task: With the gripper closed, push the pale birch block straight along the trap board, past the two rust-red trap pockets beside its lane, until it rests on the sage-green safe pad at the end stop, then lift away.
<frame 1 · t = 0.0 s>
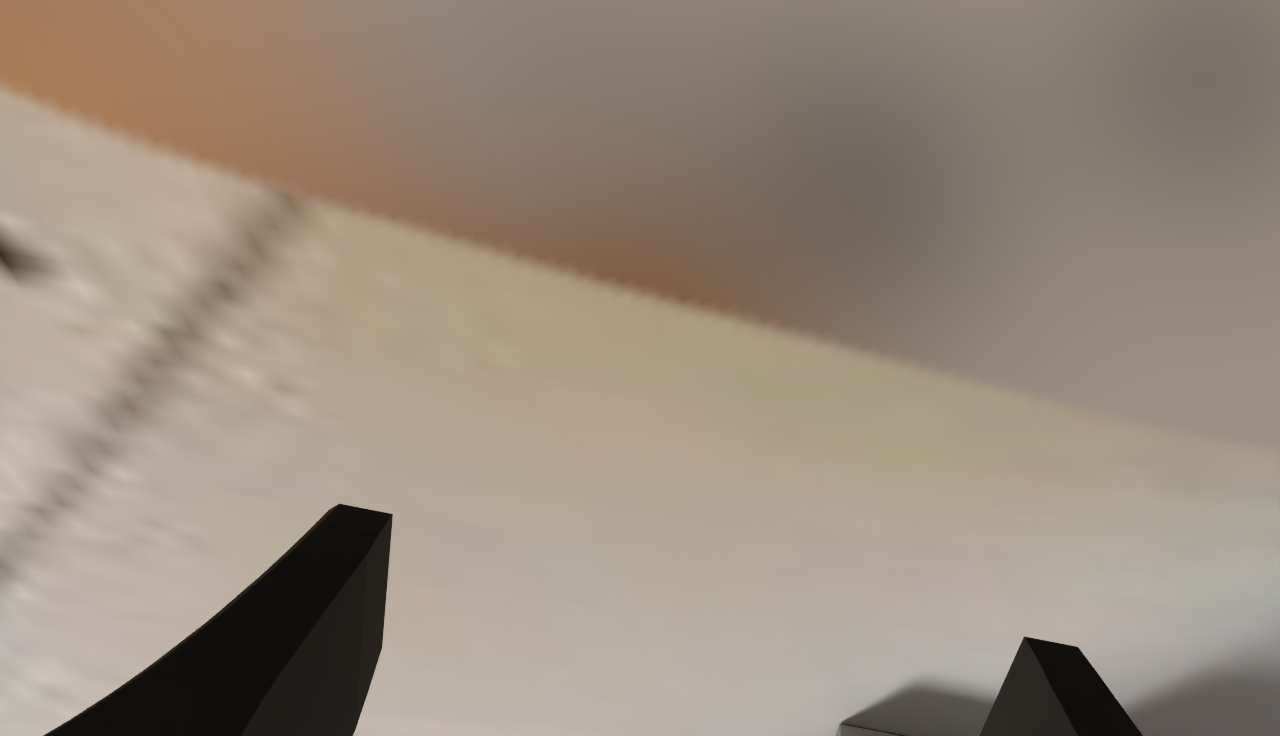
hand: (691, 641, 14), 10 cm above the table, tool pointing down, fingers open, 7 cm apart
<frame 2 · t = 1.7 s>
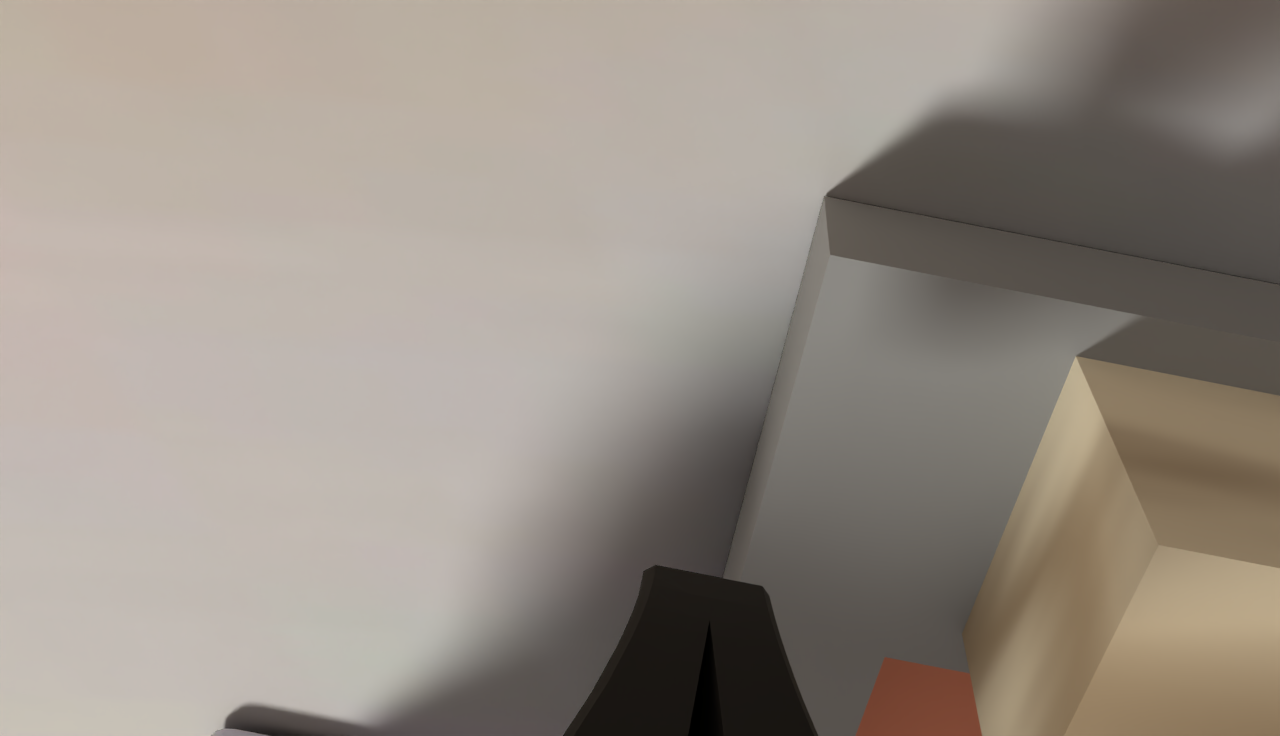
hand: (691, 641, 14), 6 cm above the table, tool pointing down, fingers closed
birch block: (1186, 538, 17), point 2 cm above the table, touching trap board
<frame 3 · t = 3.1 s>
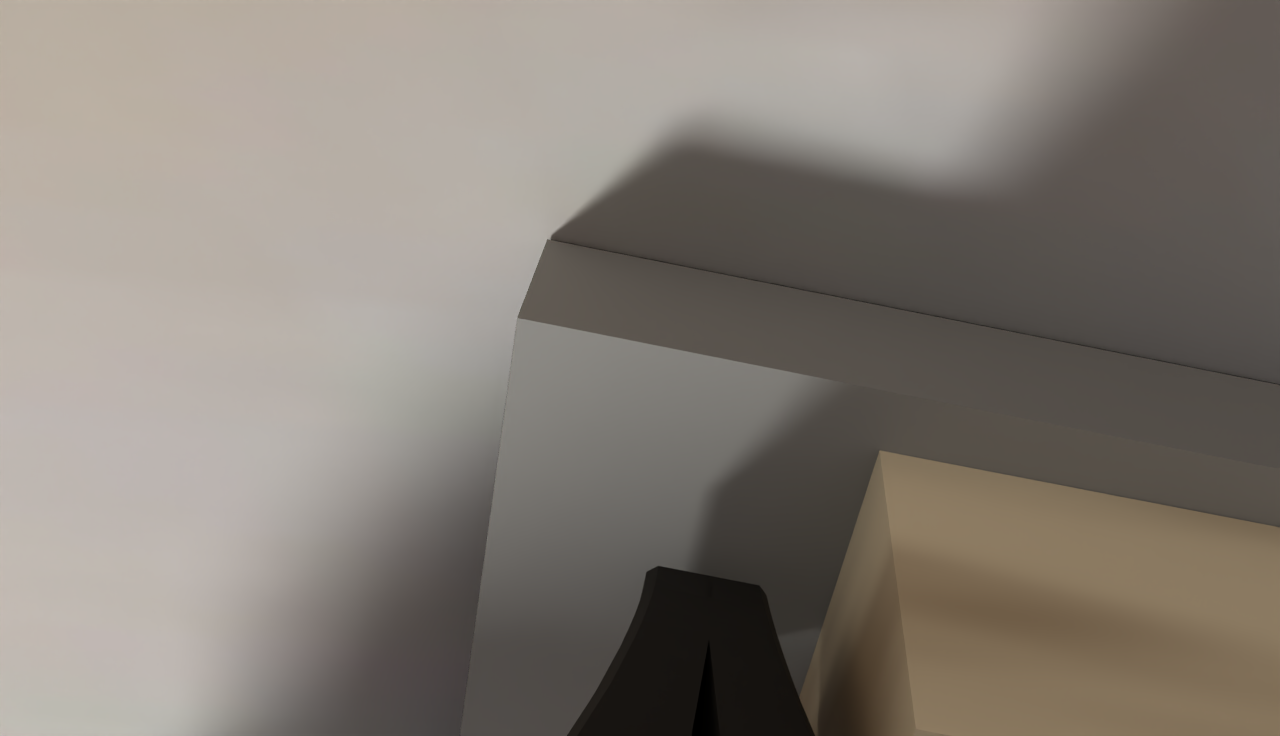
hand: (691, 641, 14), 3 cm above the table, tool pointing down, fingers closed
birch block: (1030, 660, 15), point 2 cm above the table, touching gripper
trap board: (1125, 722, 18), on the table
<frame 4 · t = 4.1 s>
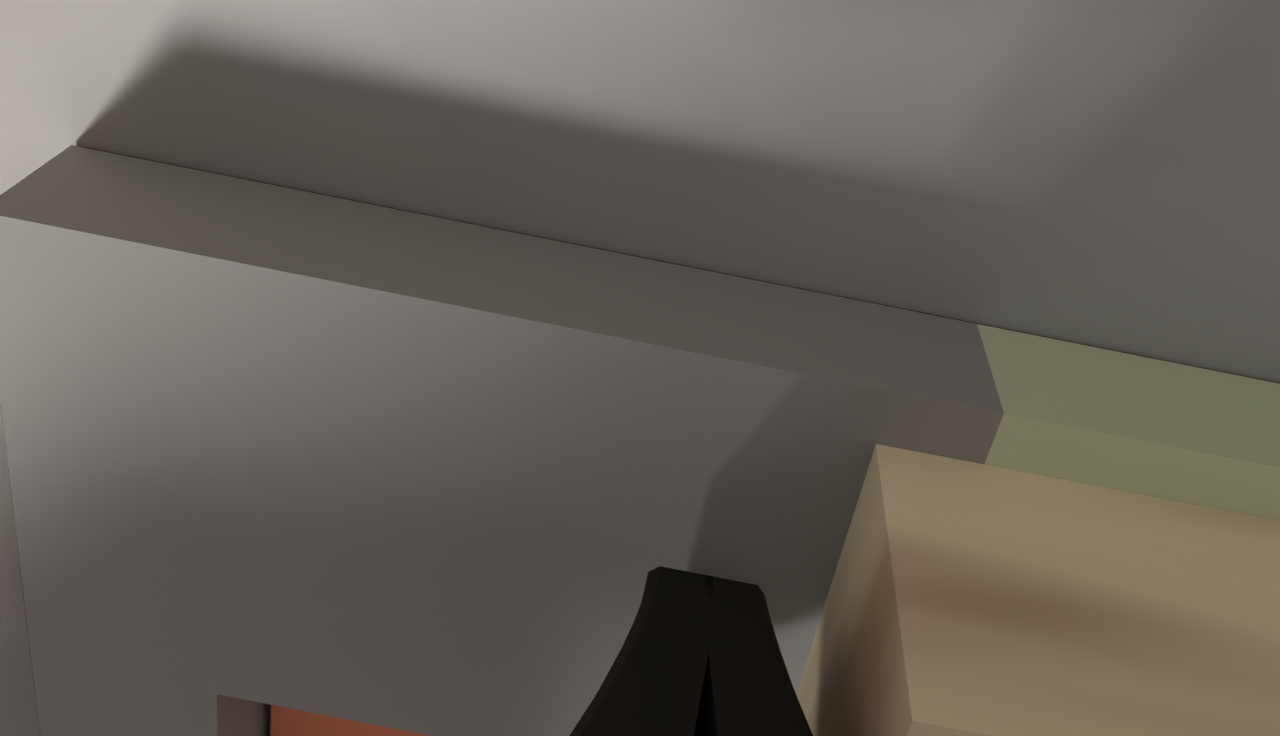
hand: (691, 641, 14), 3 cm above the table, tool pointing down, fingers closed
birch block: (1027, 654, 15), point 2 cm above the table, touching gripper
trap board: (733, 645, 18), on the table
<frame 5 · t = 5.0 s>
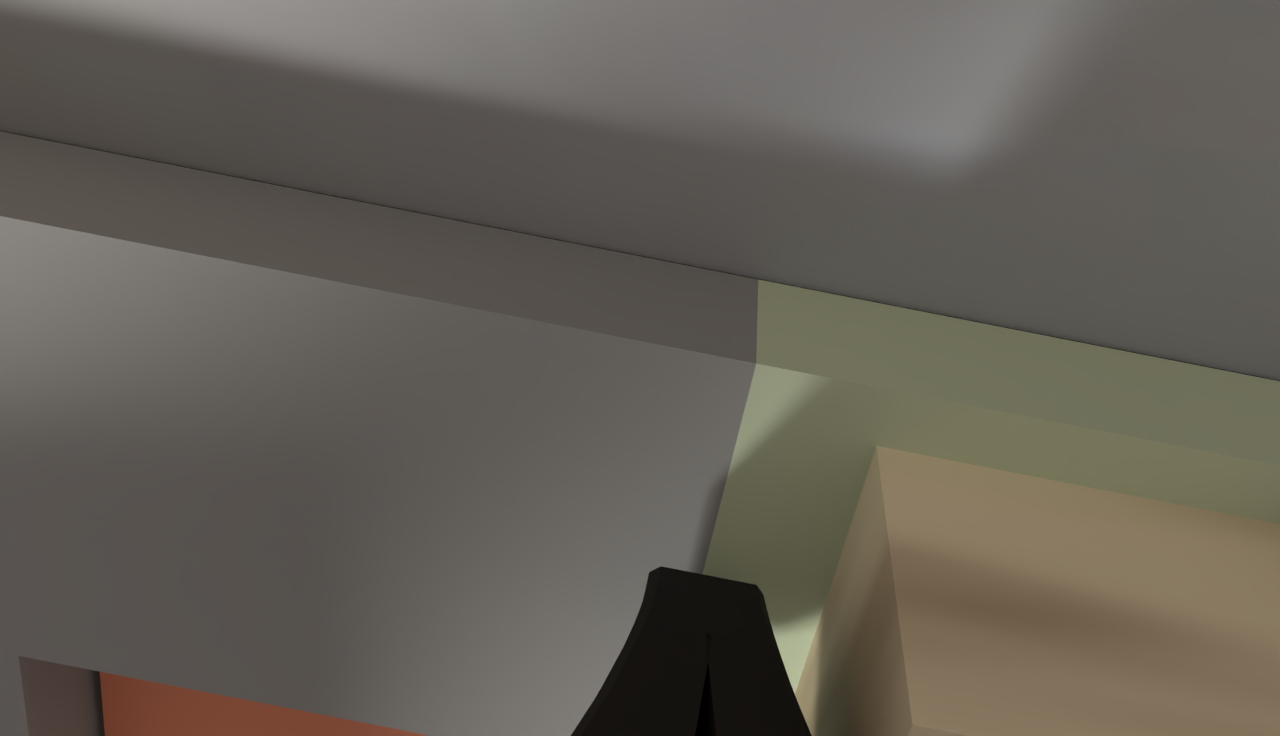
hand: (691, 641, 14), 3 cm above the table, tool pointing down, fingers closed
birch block: (1026, 656, 15), point 2 cm above the table, touching gripper, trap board
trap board: (551, 609, 18), on the table
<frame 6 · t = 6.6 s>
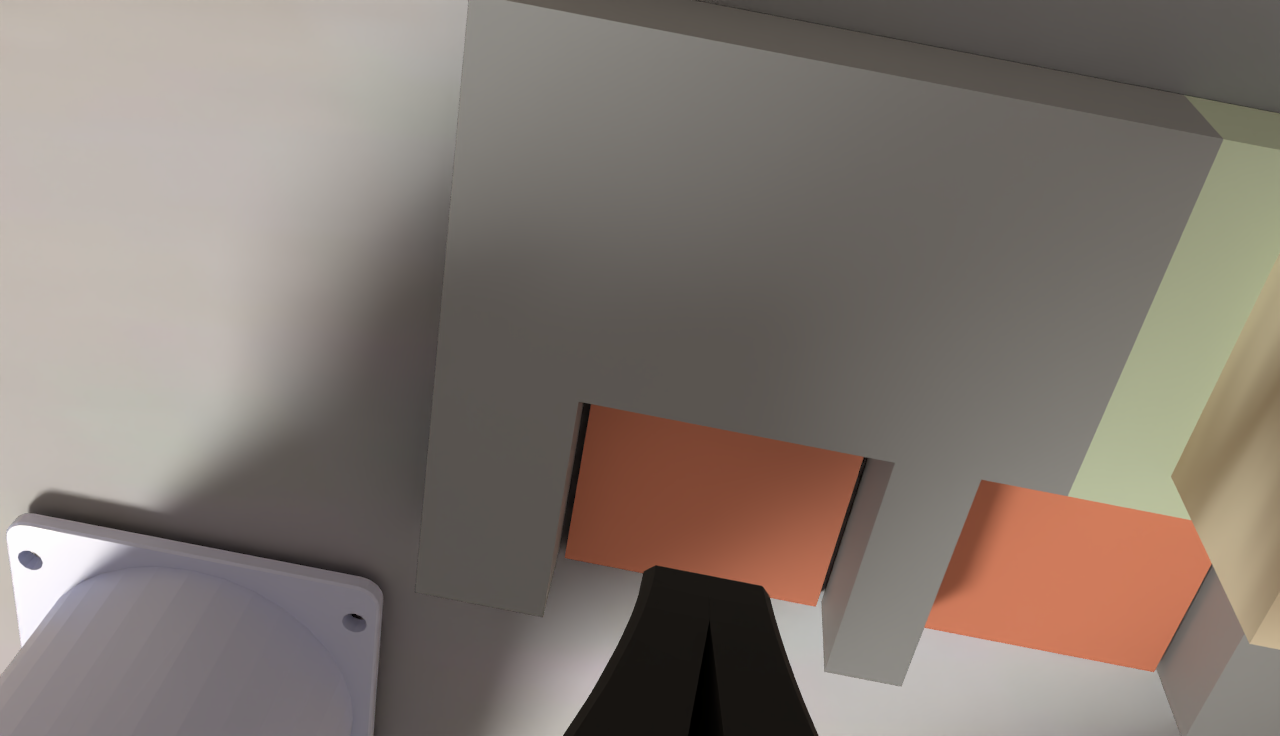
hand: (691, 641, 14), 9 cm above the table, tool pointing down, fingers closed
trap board: (964, 379, 22), on the table
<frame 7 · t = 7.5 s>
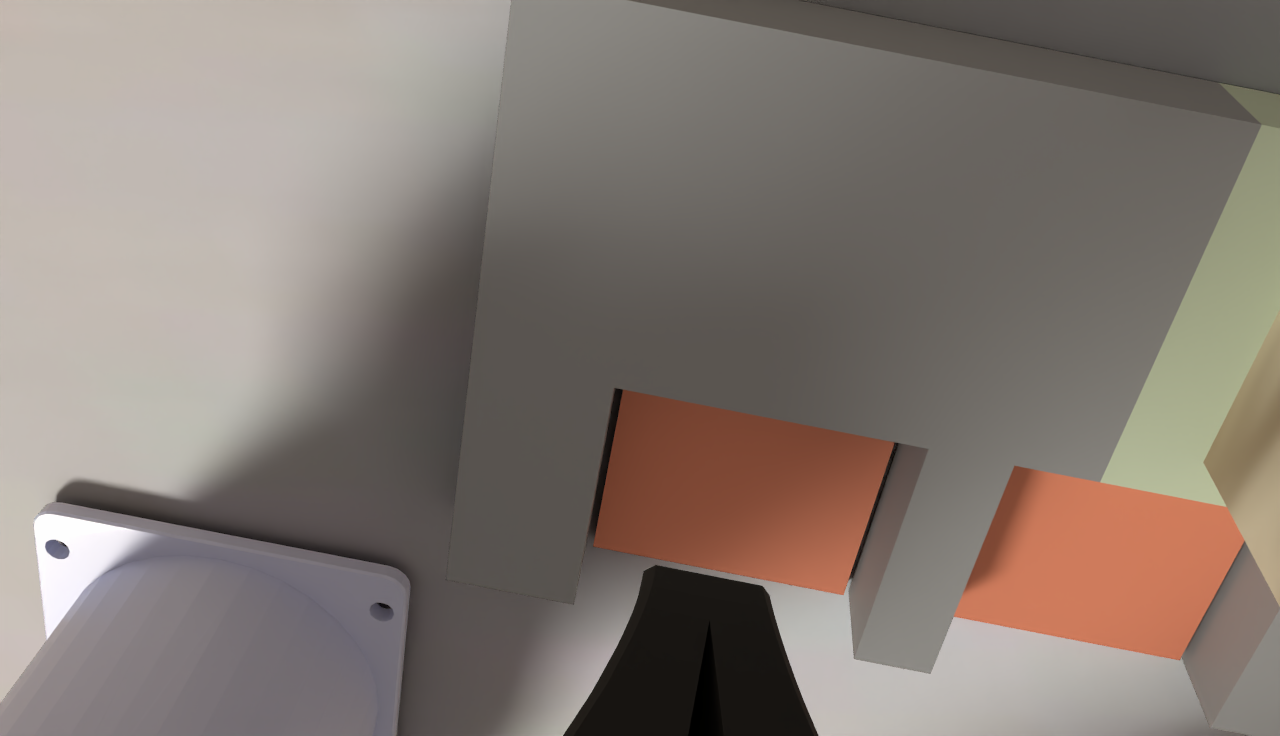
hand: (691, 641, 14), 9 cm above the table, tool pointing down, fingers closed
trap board: (995, 367, 22), on the table
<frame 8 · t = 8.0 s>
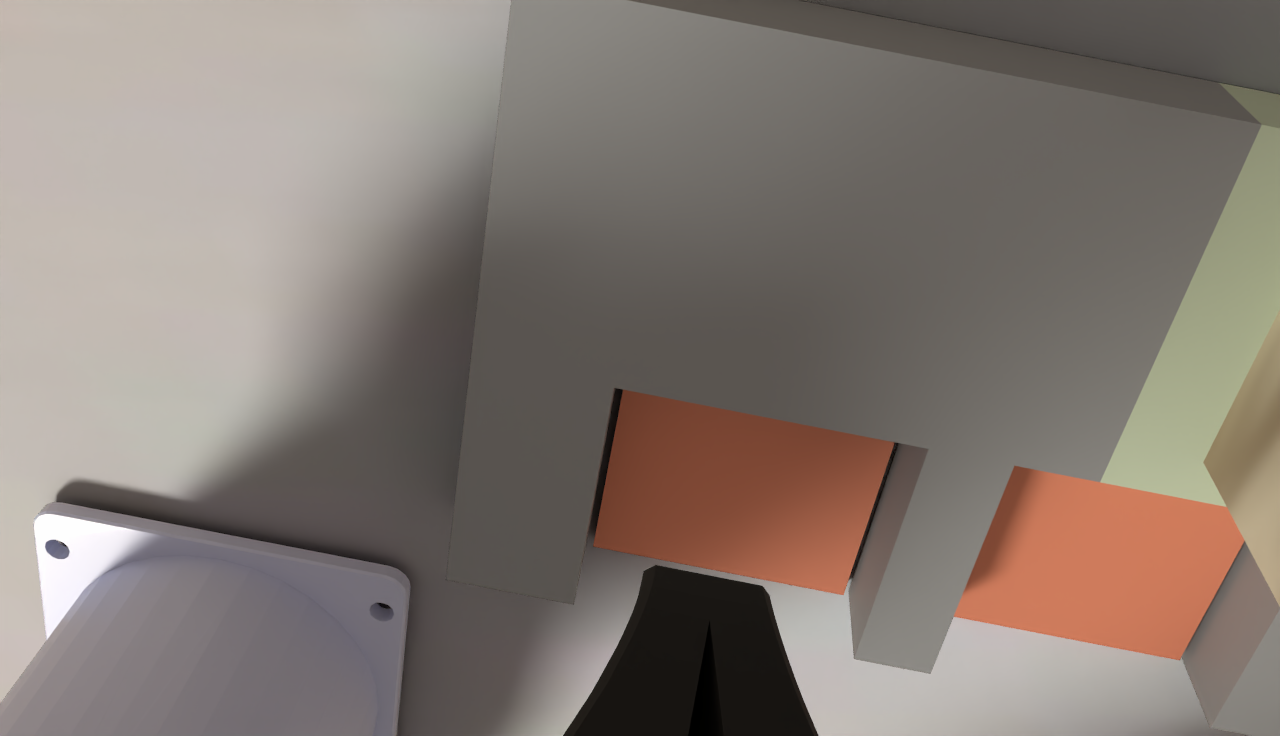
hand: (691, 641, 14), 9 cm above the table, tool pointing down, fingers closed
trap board: (995, 367, 22), on the table
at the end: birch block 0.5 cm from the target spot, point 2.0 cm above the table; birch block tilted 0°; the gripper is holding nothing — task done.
